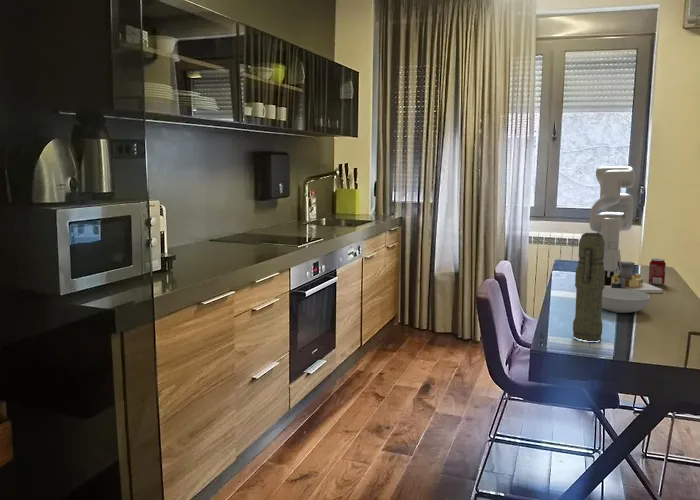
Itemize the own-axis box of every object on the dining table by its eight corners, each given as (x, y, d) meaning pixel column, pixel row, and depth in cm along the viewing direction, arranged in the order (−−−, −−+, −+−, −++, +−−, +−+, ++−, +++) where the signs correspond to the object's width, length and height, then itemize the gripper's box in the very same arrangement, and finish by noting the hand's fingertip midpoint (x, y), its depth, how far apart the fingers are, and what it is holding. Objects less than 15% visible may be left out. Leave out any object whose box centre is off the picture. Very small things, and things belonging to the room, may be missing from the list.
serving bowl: (615, 319, 219) (616, 301, 218) (579, 306, 239) (580, 289, 238) (661, 314, 224) (662, 297, 223) (622, 302, 244) (623, 286, 243)
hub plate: (591, 282, 285) (592, 258, 283) (636, 282, 285) (637, 258, 283) (613, 293, 261) (614, 267, 259) (662, 293, 261) (664, 267, 259)
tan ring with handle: (614, 279, 282) (615, 270, 282) (645, 283, 274) (645, 273, 273) (598, 288, 264) (598, 278, 263) (630, 292, 255) (631, 281, 255)
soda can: (662, 286, 275) (664, 261, 274) (647, 284, 279) (648, 259, 278) (665, 283, 281) (667, 259, 279) (649, 282, 285) (651, 257, 283)
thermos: (603, 336, 197) (608, 232, 192) (599, 345, 187) (605, 236, 182) (574, 332, 201) (579, 231, 196) (570, 342, 191) (575, 234, 186)
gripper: (589, 244, 268) (587, 283, 271) (619, 247, 256) (616, 289, 258) (600, 242, 272) (597, 281, 275) (629, 246, 259) (627, 287, 262)
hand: (607, 285), depth 267 cm, fingers closed
